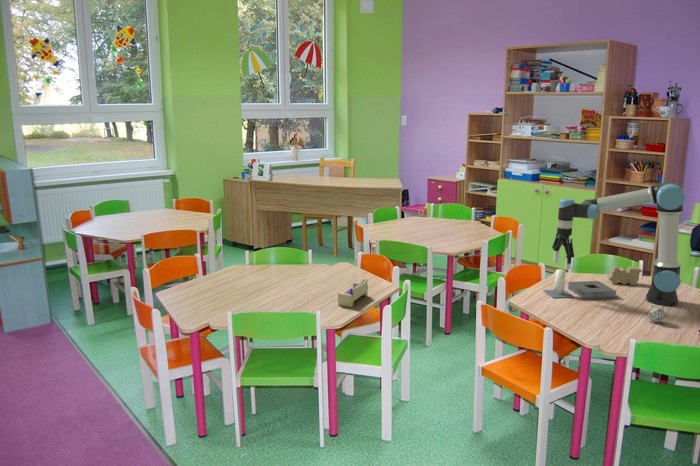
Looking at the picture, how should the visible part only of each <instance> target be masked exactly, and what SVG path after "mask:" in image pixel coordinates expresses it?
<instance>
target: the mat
mask: <svg viewBox="0 0 700 466" xmlns="http://www.w3.org/2000/svg"><path fill="white" fill-rule="evenodd" d="M542 291H543V292H544V293H545V292H546V293H545V294H546V295H548V296H549V295H550V296H549V297H550V298H552V299H568V298H569V299H573V298H575V296H574V295H573V294H571V293H570V292H568V291H567V290H565V289H564V294H563V295H557V294H554V289H543V290H542Z"/></svg>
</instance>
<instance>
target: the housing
mask: <svg viewBox="0 0 700 466" xmlns="http://www.w3.org/2000/svg"><path fill="white" fill-rule="evenodd" d="M567 283H568V284H567V289H568V290H570V291H571V292H572V293H574V294H576V295H577V296H578V297H579V298H581V299H583V300H596V299H597V300H602V299H604V300H605V299H616V296H617V291H616V290H615V289H614V288H611V287H610V286H608V285H606V284H604V283H603V282H601V281H599V280H587V281H582V280H581V281H568V282H567Z"/></svg>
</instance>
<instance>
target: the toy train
mask: <svg viewBox="0 0 700 466" xmlns="http://www.w3.org/2000/svg"><path fill="white" fill-rule="evenodd" d="M609 271H610V272H609V273H608V274H607V275H606V278H607V279H608V281H610V282H611V283H612V284H613V285H618V283H621V284H622V285H627V284H629V285H630V286H636V285H637V284H638V283H639V280H640V273H641V272H642V269H641V268H640V267H639V266H633V265H632V266H631V265H630V266H629V265H628V266H627V268H626V269H624V268H623V267H617V265H615V264H613V265H612V267H611V269H610V270H609Z"/></svg>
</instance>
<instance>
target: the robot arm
mask: <svg viewBox="0 0 700 466" xmlns="http://www.w3.org/2000/svg"><path fill="white" fill-rule="evenodd" d="M685 195H686V194H685V191H684V190H683V188H682V187H681V185H680V184H679V183H677V182H676V181H665V182H662V183H658V184H655V185H650V186H649V187H648V188H644V189H639V190H634V191H628V192H623V193H618V194H612V195H608V196H603V197H598V198H593V199H590V198H588V199H585V200H584V201H582V202H581V203H576V202H575V199H573V198H561V199H560V200H559V205H558V213H557V214H558V216H557V217H558V218H557V222H556V223H557V229H556V233H555V238H554V240H553V244H552V246H551V248H552V249H553V252H554V253H553V263H559V261H560V248H562V247H564V251H565V255H566V256H565V265H564V266H565V267H564V270H571V268H572V267H571V266H572V258H575V253H574V252H575V251H574V246H573V238H570V236H572V234H573V227H574V226H573V225H574V224H573V223H574V222H573V221H574V218H577V219H578V218H579V219H580V218H581V219H589V220H595V219H598V216H599V213H600V212H601V213H602V212H607V211H612V210H613V211H614V210H618V209H623V208H629V207H630V208H631V207H634V206H635V207H636V206H639V205H646V204H652V205H656V207H655V208H656V212H657V213H658V214H659V221H658V222H659V224H658V246H657V247H658V249H657V258H656V259H654V261H653V269H652V277H651V283H650V284H651V285H650V286H649V289H648V290H647V293H646V295H645V301H647V302H649V303H652V304H654V305H660V306H665V307H666V306H667V307H669V306H670V307H671V306H673V307H674V306H677V305H678V303H679V298H678V293H677V289H678V288H679V287H680V285H681V283H682V281H681V263H680V262H679V261H678V250H679V249H678V246H679V227H680V216H681V215H680V214H682V213H683V212H684V201H685V199H686V197H685Z"/></svg>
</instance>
